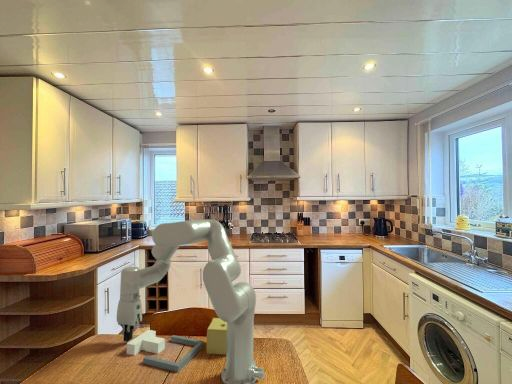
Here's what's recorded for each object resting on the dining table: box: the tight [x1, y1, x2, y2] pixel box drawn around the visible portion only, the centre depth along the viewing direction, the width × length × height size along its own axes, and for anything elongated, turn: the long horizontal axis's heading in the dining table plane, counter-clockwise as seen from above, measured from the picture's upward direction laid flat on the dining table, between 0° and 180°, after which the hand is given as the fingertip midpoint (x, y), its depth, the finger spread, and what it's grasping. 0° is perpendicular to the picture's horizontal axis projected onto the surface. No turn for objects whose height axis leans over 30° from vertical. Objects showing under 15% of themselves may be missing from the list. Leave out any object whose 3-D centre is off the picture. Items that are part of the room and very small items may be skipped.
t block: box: [126, 329, 166, 356], centre depth 103 cm, size 12×12×4 cm
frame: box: [142, 334, 205, 373], centre depth 99 cm, size 16×18×2 cm
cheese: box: [206, 317, 227, 356], centre depth 104 cm, size 10×11×10 cm
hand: (127, 340), depth 107 cm, fingers closed
